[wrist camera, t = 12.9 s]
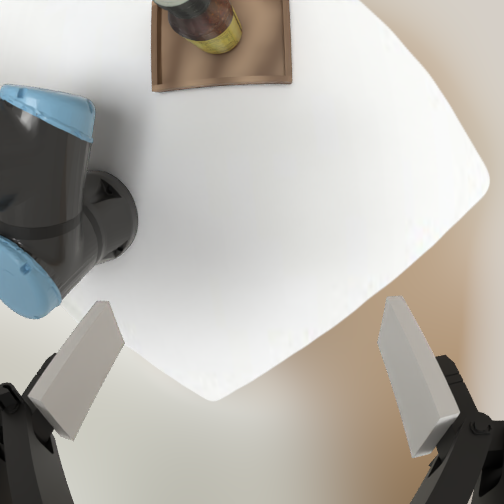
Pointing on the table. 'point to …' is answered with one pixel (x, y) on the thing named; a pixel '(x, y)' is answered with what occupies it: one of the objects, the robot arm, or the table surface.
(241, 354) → the table surface
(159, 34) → the tray
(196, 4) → the sauce bottle
